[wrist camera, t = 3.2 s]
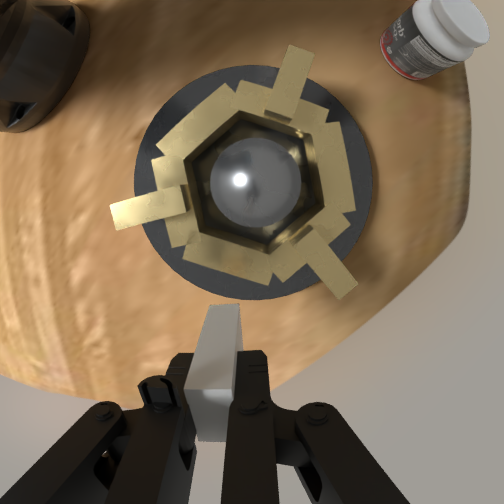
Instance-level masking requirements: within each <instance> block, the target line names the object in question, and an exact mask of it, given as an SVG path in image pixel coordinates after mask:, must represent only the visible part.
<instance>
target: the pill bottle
mask: <svg viewBox="0 0 504 504" xmlns="http://www.w3.org/2000/svg"><path fill="white" fill-rule="evenodd" d="M489 37H490V34H489V28H488V25H487V24H486V21H485V19H484V17H483V15H482V14H481V12H480V11H479V10H478V8H477V7H476V6H475V5H474V4H473V3H472V2H471V1H470V0H418V1H416V2H415V3H414V4H413V5H412V6H411V7H409V8H408V9H407V10H406V11H405V12H404V13H403V14H402V15H401V16H400V17H399V18H398V19H397V20H396V21H395V22H393V23H392V24H391V25H390V26H389V27H388V28H387V29H386V30H385V31H384V33H383V34H382V36H381V39H380V47H381V51H382V53H383V56H384V57H385V59H386V61H387V62H388V64H389V65H390V66H391V67H392V68H393V69H394V70H395V71H396V72H398V73H399V74H401V75H402V76H404V77H406V78H409V79H413V80H421V79H425V78H427V77H429V76H431V75H434V74H436V73H438V72H440V71H442V70H444V69H447V68H449V67H451V66H453V65H455V64H458V63H460V62H463V61H465V60H466V59H468V58H469V57H470V56H471V55H472V53H473V51H474V48H477V47H479V46H481V45H484V44H486V43H487V42H488V40H489Z"/></svg>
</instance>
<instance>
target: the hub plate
mask: <svg viewBox="0 0 504 504" xmlns="http://www.w3.org/2000/svg"><path fill="white" fill-rule="evenodd" d="M279 70H280V68H276V67H270V66H259V65H247V66H236V67H230V68H226V69H222V70H218V71H215V72H212V73H210V74H207V75H204V76H202V77H200V78H198V79H197V80H195V81H193V82H191V83H189V84H188V85H186V86H185V87H184V88H182V89H181V90H180V91H178V92H177V93H176V94H175V95H174V96H172V97H171V98H170V99H169V100H168V101H167V102H166V103H165V104H164V105H163V107H162V108H161V109H160V110H159V112H158V113H157V114H156V115H155V117H154V118H153V120H152V122H151V123H150V125H149V127H148V128H147V130H146V133H145V135H144V137H143V140H142V142H141V144H140V148H139V151H138V155H137V159H136V165H135V173H134V192H135V197H138V196H141V195H145V194H148V193H152V192H155V191H158V189H157V185H156V180H155V176H154V171H153V166H152V161H151V160H152V159H156V158H159V157H162V156H165V155H164V153H163V152H162V151H161V150H160V149H159V148H158V147H157V146H156V144H157V143H158V142H159V141H160V140H161V139H162V138H163V137H164V136H165V135H166V134H167V133H168V132H170V131H171V130H172V129H173V128H174V127H175V126H176V125H177V124H178V123H179V122H180V121H181V120H182V119H183V118H184V117H186V116H187V115H188V114H189V113H190V112H191V111H192V110H193V109H194V108H196V107H197V106H198V105H199V104H200V103H201V102H202V101H204V100H205V99H206V98H207V97H208V96H210V95H211V94H212V93H213V92H214V91H216V90H217V89H218V88H219V87H220V86H222V85H223V84H224V83H226V84H227V85H228V86H229V87H230V88H231V89H232V90H233V91H234V92H235V93H236V90H237V88H238V85H239V82H240V80H244V81H247V82H251V83H254V84H258V85H261V86H264V87H268V88H271V89H273V86H274V83H275V80H276V78H277V75H278V72H279ZM300 99H303V100H306V101H308V102H311V103H313V104H316V105H319V106H321V107H324V108H326V109H329V112H328V115H327V118H326V121H325V123H331V122H340V127H341V131H342V136H343V140H344V145H345V150H346V155H347V160H348V165H349V171H350V176H351V182H352V188H353V195H354V201H355V208H356V211H351V212H345V213H342V214H343V215H344V216H345V218H346V219H347V220H348V222H349V223H350V224H351V225H350V226H349V227H348V228H346V229H345V230H344V231H343V232H342V233H341V234H340V235H339V236H337V237H336V238H335V239H334V240H333V241H332V242H330V243H329V244H328V246H329V247H330V248H331V249H332V251H333V252H334V253H335V254H336V256H337V257H338V258H339V260H340V261H341V262H342V260H343V259H344V258H345V257H346V256H347V255H348V253H349V252H350V251H351V249H352V248H353V246H354V245H355V243H356V242H357V240H358V238H359V236H360V234H361V232H362V230H363V228H364V225H365V222H366V219H367V216H368V213H369V208H370V203H371V198H372V184H373V181H372V167H371V162H370V157H369V152H368V149H367V146H366V144H365V141H364V138H363V136H362V134H361V132H360V130H359V128H358V126H357V124H356V122H355V121H354V119H353V118H352V116H351V115H350V114H349V112H348V111H347V110H346V108H345V107H344V106H343V105H342V104H341V103H340V102H339V101H338V100H337V99H336V98H335V97H334V96H333V95H332V94H331V93H329V92H328V91H327V90H326V89H325V88H323V87H321V86H320V85H318V84H317V83H315V82H314V81H312V80H310V79H308V78H306V81H305V84H304V87H303V90H302V93H301V96H300ZM248 138H263V139H268V140H271V141H274V142H276V143H278V144H279V145H281V146H283V147H284V148H285V149H286V150H287V151H288V152H289V153H290V154H291V155H292V156H293V158H294V159H295V161H296V163H297V165H298V168H299V170H300V175H301V190H300V195H299V198H298V200H297V203H296V205H295V206H294V208H293V209H292V210H291V212H290V213H289V214H288V215H287V216H286V217H284V218H283V219H282V220H280V221H278V222H277V223H275V224H272V225H269V226H265V227H246V226H243V225H239V224H237V223H235V222H233V221H232V220H230V219H229V218H227V217H226V216H225V215H224V214H223V213H222V212H221V211H220V210H219V208H218V207H217V205H216V203H215V202H214V199H213V196H212V193H211V186H210V178H211V172H212V169H213V166H214V164H215V162H216V160H217V158H218V157H219V156H220V154H221V153H222V152H223V151H224V150H225V149H226V148H228V147H229V146H230V145H232V144H234V143H236V142H238V141H240V140H243V139H248ZM192 166H193V171H194V175H195V180H196V184H197V189H198V193H199V198H200V202H201V207H202V211H203V215H204V219H205V224H206V225H207V226H210V227H213V228H216V229H219V230H223V231H226V232H229V233H232V234H235V235H238V236H241V237H245V238H248V239H251V240H254V241H257V242H260V243H263V244H266V245H267V244H269V243H270V242H271V241H272V240H273V239H274V238H275V237H277V236H278V235H279V234H280V233H281V232H282V231H284V230H285V229H286V228H287V227H288V226H289V225H291V224H292V223H293V222H294V221H295V220H296V219H297V218H299V217H300V216H301V215H302V214H303V213H304V212H306V211H307V210H308V209H309V208H310V207H311V206H312V205H314V204H315V198H314V192H313V187H312V181H311V176H310V171H309V166H308V161H307V156H306V151H305V147H304V142H303V140H302V139H299V138H296V137H294V136H291V135H288V134H285V133H282V132H280V131H277V130H274V129H271V128H268V127H265V126H261V125H258V124H255V123H252V122H249V121H245V120H242V119H240V120H239V121H238V122H237V123H235V124H234V125H233V126H232V127H231V128H230V129H228V130H227V131H226V132H225V133H224V134H223V135H221V136H220V137H219V138H218V139H217V140H216V141H215V142H214V143H212V144H211V145H210V146H209V147H208V148H207V149H206V150H205V151H204V152H203V153H201V154H200V155H199V156H198V157H197V158H196V159H195V160H194V161H193V162H192ZM142 226H143V228H144V230H145V233H146V235H147V237H148V238H149V240H150V242H151V244H152V245H153V247H154V248H155V250H156V251H157V252H158V254H159V255H160V256H161V258H162V259H163V260H164V261H165V262H166V263H167V264H168V265H169V266H170V267H171V268H172V269H173V270H174V271H175V272H177V273H178V274H179V275H181V276H182V277H183V278H184V279H186V280H187V281H189V282H191V283H192V284H194V285H196V286H198V287H200V288H202V289H204V290H206V291H209V292H211V293H214V294H217V295H221V296H224V297H228V298H235V299H241V300H264V299H273V298H278V297H282V296H287V295H290V294H292V293H295V292H298V291H301V290H303V289H305V288H307V287H309V286H311V285H313V284H315V283H316V282H318V281H319V280H321V279H320V278H319V276H318V275H317V274H316V273H315V272H314V270H313V269H312V268H311V267H310V266H309V265H308V263H306V264H305V265H304V266H302V267H301V268H300V269H299V270H298V271H297V272H295V273H294V274H293V275H292V276H291V277H289V278H288V279H287V280H286V281H285V282H282V281H281V280H280V279H279V278H278V277H277V276H276V275H275V274H274V273H273V274H272V277H271V280H270V282H269V285H268V286H267V285H264V284H260V283H257V282H254V281H250V280H247V279H244V278H241V277H238V276H234V275H231V274H228V273H225V272H221V271H218V270H215V269H212V268H209V267H206V266H203V265H199V264H196V263H193V262H190V261H187V260H184V259H182V258H183V255H184V251H185V247H186V245H183V246H179V247H174V248H172V246H171V243H170V239H169V235H168V231H167V227H166V223H165V219H164V218H162V219H158V220H154V221H150V222H146V223H143V224H142Z"/></svg>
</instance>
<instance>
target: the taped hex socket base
mask: <svg viewBox="0 0 504 504" xmlns="http://www.w3.org/2000/svg"><path fill="white" fill-rule="evenodd" d="M314 55H315V53H312V52H310V51H307V50H304V49H301V48H298V47H295V46H292V45H289V46H288V49H287V51H286V54H285V57H284V59H283V62H282V64H281V67H280V70H279V72H278V75H277V78H276V80H275V83H274V86H273V89H271V88H268V87H264V86H261V85H258V84H254V83H251V82H247V81H244V80H240V82H239V85H238V88H237V90H236V93H235V92H234V91H233V90H232V89H231V88H230V87H229V86H228V85H227V84H226V83H224V84H223V85H222V86H220V87H219V88H218V89H217V90H216V91H214V92H213V93H212V94H211V95H210V96H208V97H207V98H206V99H205V100H204V101H202V102H201V103H200V104H199V105H198V106H197V107H196V108H194V109H193V110H192V111H191V112H190V113H189V114H188V115H187V116H186V117H184V118H183V119H182V120H181V121H180V122H179V123H178V124H177V125H176V126H175V127H174V128H173V129H172V130H171V131H170V132H168V133H167V134H166V135H165V136H164V137H163V138H162V139H161V140H160V141H159V142H158V143H157V144H156V146H157V147H158V148H159V149H160V150H161V151H162V152H163V153H164V155H165V156H162V157H159V158H156V159H152V160H151V161H152V166H153V171H154V176H155V180H156V185H157V189H158V191H155V192H152V193H148V194H145V195H141V196H138V197H134V198H131V199H128V200H125V201H121V202H118V203H115V204H112V205H110V208H111V212H112V216H113V220H114V224H115V228H116V231H117V230H120V229H124V228H128V227H131V226H135V225H139V224H143V223H146V222H150V221H154V220H158V219H162V218H164V219H165V223H166V227H167V231H168V235H169V239H170V243H171V246H172V248H174V247H179V246H183V245H186V247H185V251H184V255H183V258H182V259H184V260H187V261H190V262H193V263H196V264H199V265H203V266H206V267H209V268H212V269H215V270H218V271H221V272H225V273H228V274H231V275H234V276H238V277H241V278H244V279H247V280H250V281H254V282H257V283H260V284H264V285H267V286H268V285H269V282H270V280H271V277H272V274H273V273H274V274H275V275H276V276H277V277H278V278H279V279H280V280H281V281H282V282H285V281H286V280H287V279H288V278H289V277H291V276H292V275H293V274H294V273H295V272H297V271H298V270H299V269H300V268H301V267H302V266H304V265H305V264H306V263H308V265H309V266H310V267H311V268H312V269H313V270H314V272H315V273H316V274H317V275H318V276H319V278H320V279H321V280H322V281H323V282H324V283H325V285H326V286H327V287H328V288H329V289H330V291H331V292H332V293H333V294H334V295H335V297H336V298H337V299H338V300H340V299H341V298H343V297H344V296H345V295H346V294H347V293H349V292H350V291H351V290H352V289H353V288H354V287H356V286H357V285H358V283H357V281H356V280H355V279H354V278H353V276H352V275H351V274H350V272H349V271H348V270H347V268H346V267H345V266H344V265H343V263H342V262H341V261H340V260H339V258H338V257H337V256H336V254H335V253H334V252H333V251H332V249H331V248H330V247H329V246H328V244H329V243H330V242H332V241H333V240H334V239H335V238H336V237H337V236H339V235H340V234H341V233H342V232H343V231H344V230H345V229H346V228H348V227H349V226H350V225H351V224H350V223H349V222H348V220H347V219H346V218H345V216H344V215H343V214H342V213H345V212H351V211H356V208H355V201H354V195H353V188H352V182H351V176H350V171H349V165H348V160H347V155H346V150H345V145H344V140H343V136H342V131H341V127H340V122H331V123H325V121H326V118H327V115H328V112H329V109H326V108H324V107H321V106H319V105H316V104H313V103H311V102H308V101H306V100H303V99H300V96H301V93H302V90H303V87H304V84H305V81H306V78H307V76H308V73H309V70H310V67H311V64H312V61H313V58H314ZM240 119H242V120H245V121H249V122H252V123H255V124H258V125H261V126H265V127H268V128H271V129H274V130H277V131H280V132H282V133H285V134H288V135H291V136H294V137H296V138H299V139H302V140H303V142H304V147H305V151H306V156H307V161H308V166H309V171H310V176H311V181H312V187H313V192H314V198H315V204H314V205H312V206H311V207H310V208H309V209H308V210H307V211H306V212H304V213H303V214H302V215H301V216H300V217H299V218H297V219H296V220H295V221H294V222H293V223H292V224H291V225H289V226H288V227H287V228H286V229H285V230H284V231H282V232H281V233H280V234H279V235H278V236H277V237H275V238H274V239H273V240H272V241H271V242H270V243H269V244H267V245H266V244H263V243H260V242H257V241H254V240H251V239H248V238H245V237H241V236H238V235H235V234H232V233H229V232H226V231H223V230H219V229H216V228H213V227H210V226H207V225H206V224H205V219H204V215H203V211H202V207H201V202H200V198H199V193H198V189H197V184H196V180H195V175H194V171H193V166H192V162H193V161H194V160H195V159H196V158H197V157H198V156H199V155H200V154H201V153H203V152H204V151H205V150H206V149H207V148H208V147H209V146H210V145H211V144H212V143H214V142H215V141H216V140H217V139H218V138H219V137H220V136H221V135H223V134H224V133H225V132H226V131H227V130H228V129H230V128H231V127H232V126H233V125H234V124H235V123H237V122H238V121H239V120H240Z"/></svg>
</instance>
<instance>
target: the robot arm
mask: <svg viewBox="0 0 504 504" xmlns="http://www.w3.org/2000/svg"><path fill="white" fill-rule="evenodd" d="M89 35H90V27H89V21H88V18H87V16H86V15H85V13H84V12H83V11H82V10H80V9H79V8H78V7H77V6H76V5H75V4H73V3H72V2H70V1H68V0H0V132H9V133H17V132H22V131H25V130H27V129H29V128H31V127H33V126H34V125H36V124H37V123H38V122H40V121H41V120H42V119H43V118H44V117H45V116H46V115H48V114H49V113H50V111H51V110H52V109H53V108H54V107H55V106H56V105H57V104H58V102H59V101H60V100H61V98H62V97H63V96H64V94H65V93H66V91H67V90H68V88H69V87H70V85H71V84H72V82H73V80H74V78H75V77H76V75H77V73H78V71H79V69H80V67H81V64H82V62H83V59H84V57H85V54H86V51H87V47H88V42H89ZM138 389H139V392H140V394H141V397H142V400H143V402H144V406H143V408H139V409H133V410H125V411H122V409H121V408H120V406H119V405H118V404H116V403H115V402H110V401H104V402H99V403H97V404H95V405H94V406H92V407H91V408H90V409H89V410H88V411H87V412H86V413H85V414H84V415H83V416H82V417H81V418H80V419H79V420H78V421H77V422H76V423H75V424H74V425H73V426H72V427H71V428H70V429H69V430H68V431H67V432H66V433H65V434H64V435H63V436H62V437H61V438H60V439H59V440H58V441H57V442H56V443H55V444H54V445H53V446H52V447H51V448H50V449H49V450H48V451H47V452H46V453H45V454H44V455H43V456H42V457H41V458H40V459H39V460H38V461H37V462H36V463H35V464H34V465H33V466H32V467H31V468H30V469H29V470H28V471H27V472H26V473H25V474H24V475H23V476H22V477H21V478H20V479H19V480H18V481H17V482H16V483H15V484H14V485H13V486H12V487H11V488H10V489H9V490H8V491H7V492H6V493H5V494H4V495H3V496H2V497H1V498H0V504H188V501H189V495H190V489H191V483H192V477H193V471H194V465H195V460H196V454H197V450H196V445H195V443H194V442H195V436H196V434H197V437H198V441H206V442H226V449H225V459H224V471H223V483H222V494H221V504H279V491H278V479H277V466H276V463H277V464H283V465H289V466H294V469H295V471H296V473H297V475H298V477H299V479H300V481H301V483H302V485H303V487H304V489H305V491H306V493H307V495H308V497H309V499H310V501H311V503H312V504H410V503H409V502H408V500H407V499H406V498H405V497H404V495H403V494H402V493H401V492H400V490H399V489H398V488H397V487H396V486H395V484H394V483H393V482H392V480H391V479H390V478H389V477H388V475H387V474H386V473H385V472H384V470H383V469H382V468H381V466H380V465H379V464H378V463H377V461H376V460H375V459H374V457H373V456H372V455H371V454H370V452H369V451H368V450H367V448H366V447H365V446H364V445H363V443H362V442H361V441H360V439H359V438H358V437H357V435H356V434H355V433H354V432H353V430H352V429H351V427H350V426H349V425H348V424H347V422H346V421H345V420H344V418H343V417H342V416H341V414H340V413H339V412H338V410H337V409H335V408H334V407H333V406H332V405H330V404H327V403H322V402H314V403H308V404H306V405H304V406H302V407H301V408H300V409H299V410H298V411H293V410H287V409H283V408H281V407H279V406H277V405H276V404H275V403H274V402H273V401H272V400H271V396H270V386H269V374H268V363H267V356H266V355H265V354H264V352H263V351H262V350H251V351H243V340H242V329H241V318H240V307H239V304H223V305H210V306H209V309H208V312H207V315H206V318H205V321H204V325H203V328H202V331H201V334H200V337H199V340H198V344H197V347H196V350H195V353H178V354H177V355H176V356H175V357H174V358H173V359H172V360H171V362H170V364H169V367H168V369H167V372H166V375H165V376H163V375H157V376H152V377H148V378H146V379H144V380H143V381H141V382H140V384H139V385H138ZM105 451H107V452H106V453H105V454H103V453H104V452H105Z"/></svg>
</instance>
